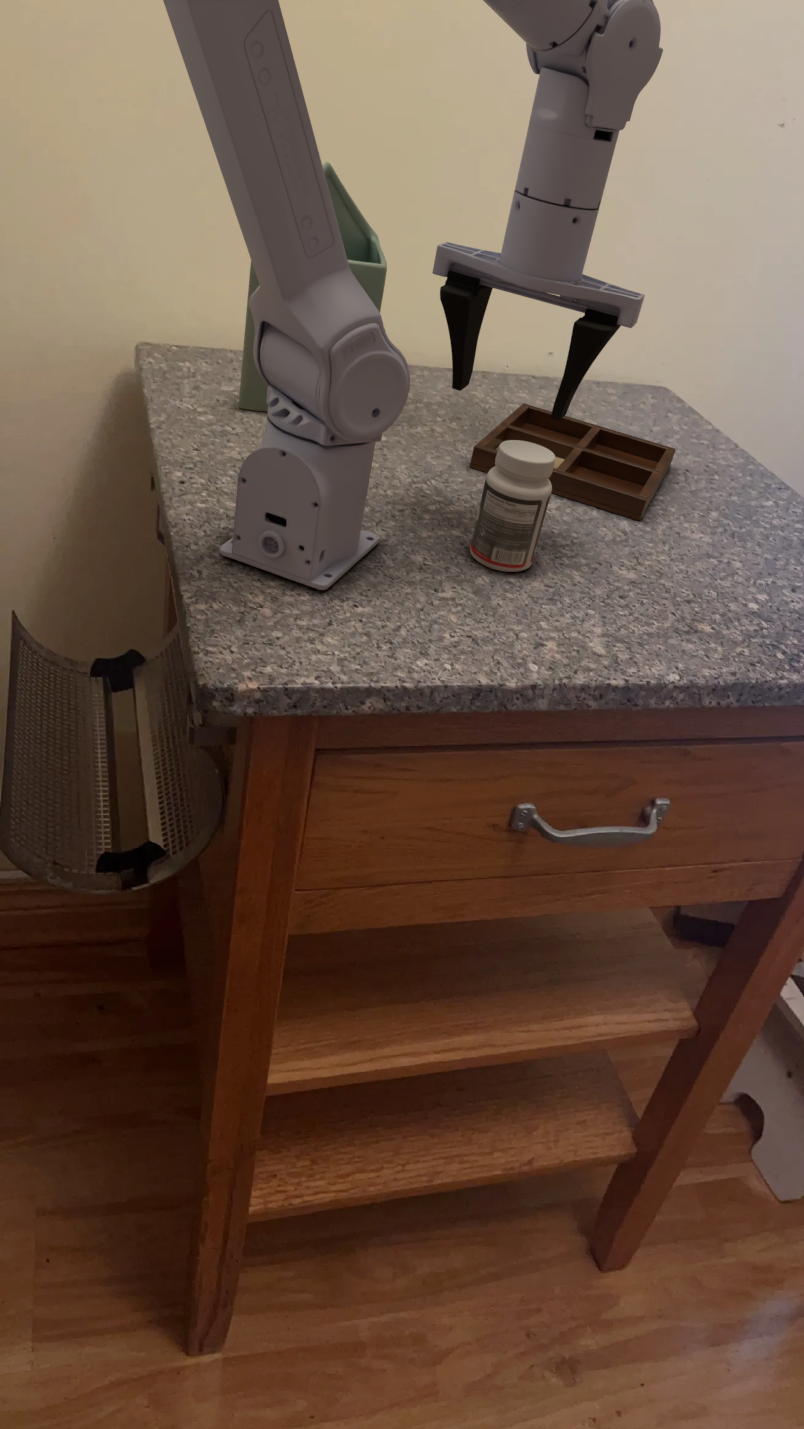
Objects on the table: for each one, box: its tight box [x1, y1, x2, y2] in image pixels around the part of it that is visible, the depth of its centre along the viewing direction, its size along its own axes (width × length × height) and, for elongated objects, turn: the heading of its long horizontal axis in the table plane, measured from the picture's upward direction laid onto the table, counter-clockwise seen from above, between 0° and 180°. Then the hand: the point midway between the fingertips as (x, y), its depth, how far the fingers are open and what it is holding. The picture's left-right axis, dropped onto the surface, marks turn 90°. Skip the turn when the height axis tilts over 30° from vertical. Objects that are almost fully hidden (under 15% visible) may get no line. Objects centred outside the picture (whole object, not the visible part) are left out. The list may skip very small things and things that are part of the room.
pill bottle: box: [469, 440, 555, 573], centre depth 74 cm, size 5×5×8 cm
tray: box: [469, 403, 677, 522], centre depth 94 cm, size 15×15×2 cm
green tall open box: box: [238, 161, 388, 413], centre depth 91 cm, size 16×8×20 cm, turn 143°
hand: (508, 401), depth 76 cm, fingers open, 7 cm apart
